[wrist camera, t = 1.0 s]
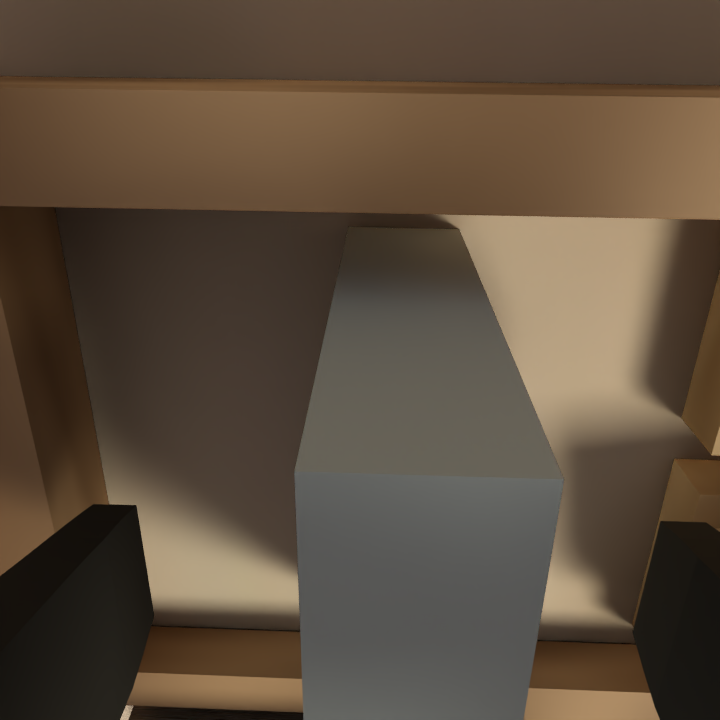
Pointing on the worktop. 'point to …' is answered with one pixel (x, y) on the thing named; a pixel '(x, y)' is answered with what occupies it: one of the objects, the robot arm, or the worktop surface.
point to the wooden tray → (302, 194)
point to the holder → (208, 714)
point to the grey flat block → (419, 494)
